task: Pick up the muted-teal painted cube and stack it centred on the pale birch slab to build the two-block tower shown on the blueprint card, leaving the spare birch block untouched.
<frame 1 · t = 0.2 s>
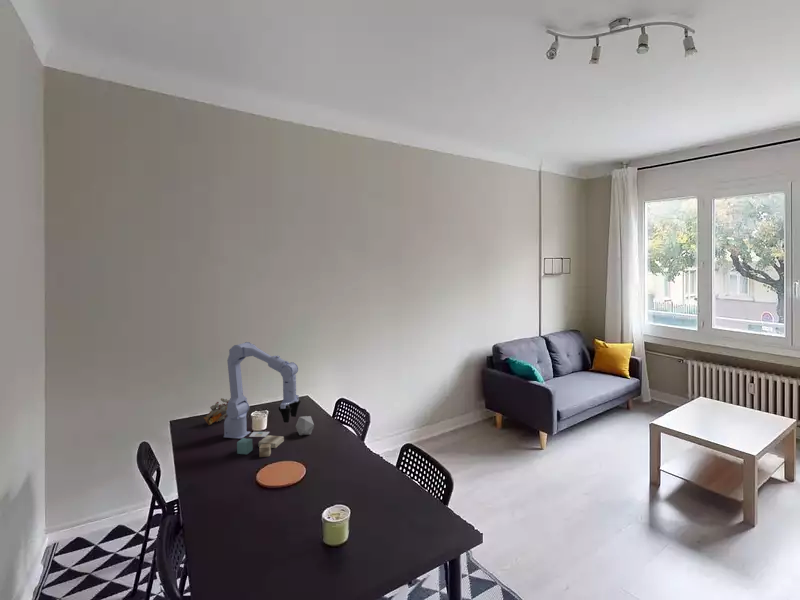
hand: (290, 419, 192), 10 cm above the table, fingers open, 7 cm apart
birch slab: (271, 444, 189), on the table
die: (305, 434, 201), on the table
blueprint card: (259, 434, 200), on the table
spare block: (265, 454, 178), on the table
teal cube: (245, 451, 181), on the table
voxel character: (222, 423, 215), on the table
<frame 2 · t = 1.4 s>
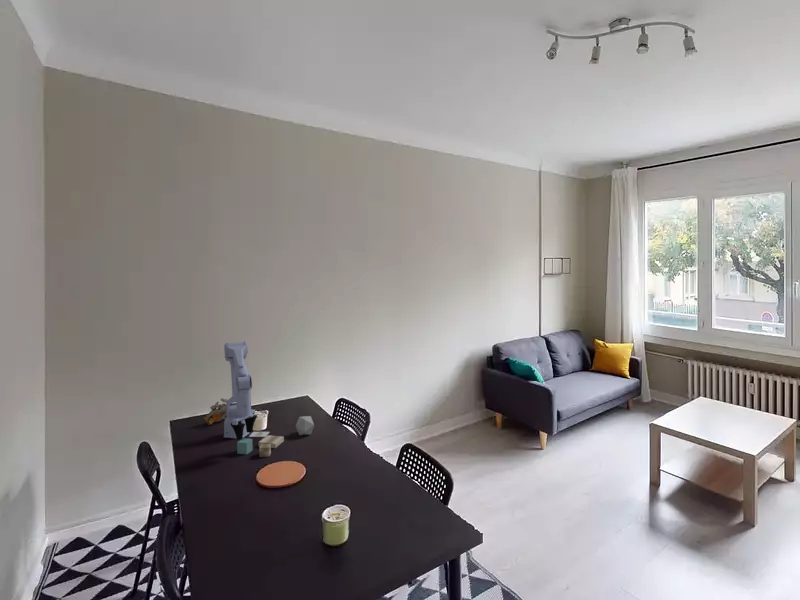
hand: (244, 435, 180), 7 cm above the table, fingers open, 7 cm apart
nothing on the table moved.
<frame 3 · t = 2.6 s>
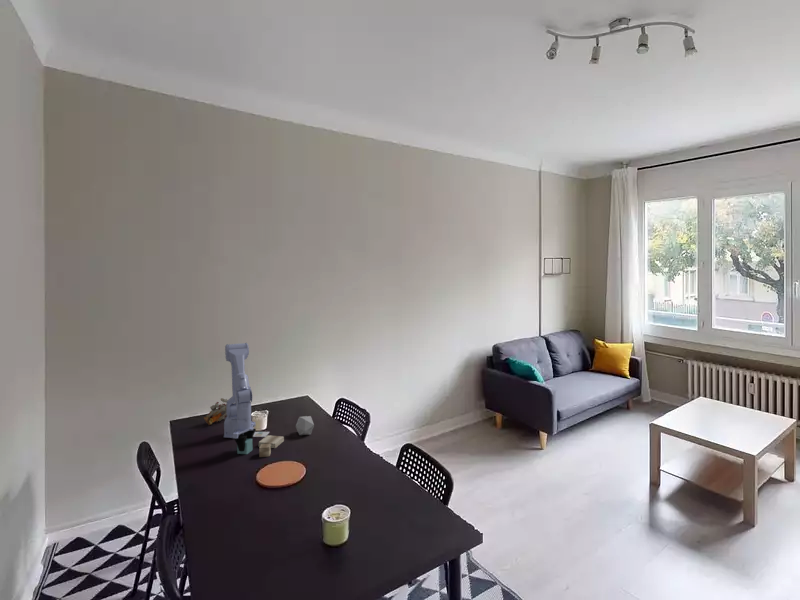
hand: (244, 448, 181), 1 cm above the table, fingers closed on teal cube, 4 cm apart
teal cube: (245, 451, 181), on the table, touching gripper
everything else where it was.
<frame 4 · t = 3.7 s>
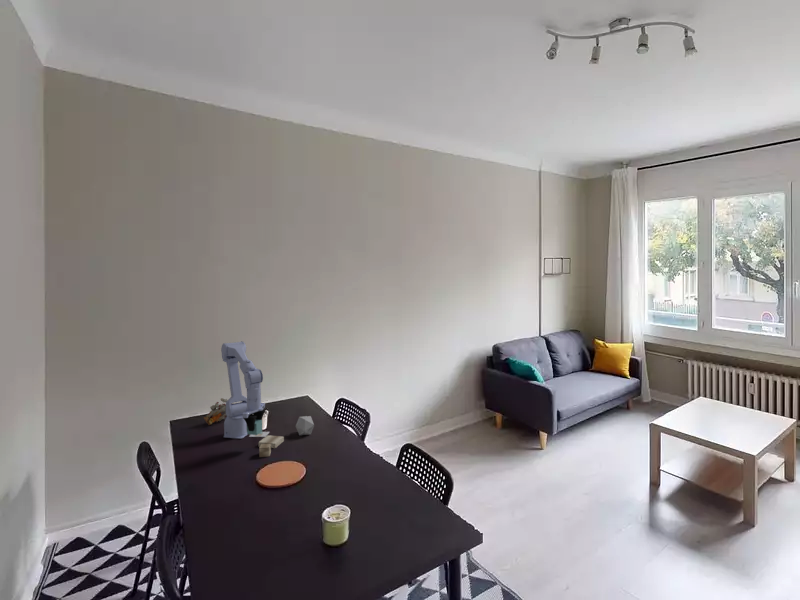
hand: (254, 428, 183), 9 cm above the table, fingers closed on teal cube, 4 cm apart
teal cube: (254, 432, 183), point 7 cm above the table, touching gripper
everything else where it was.
when the fingers open (5 cm above the table, at t = 5.2 s): teal cube drops 2 cm, resting on birch slab.
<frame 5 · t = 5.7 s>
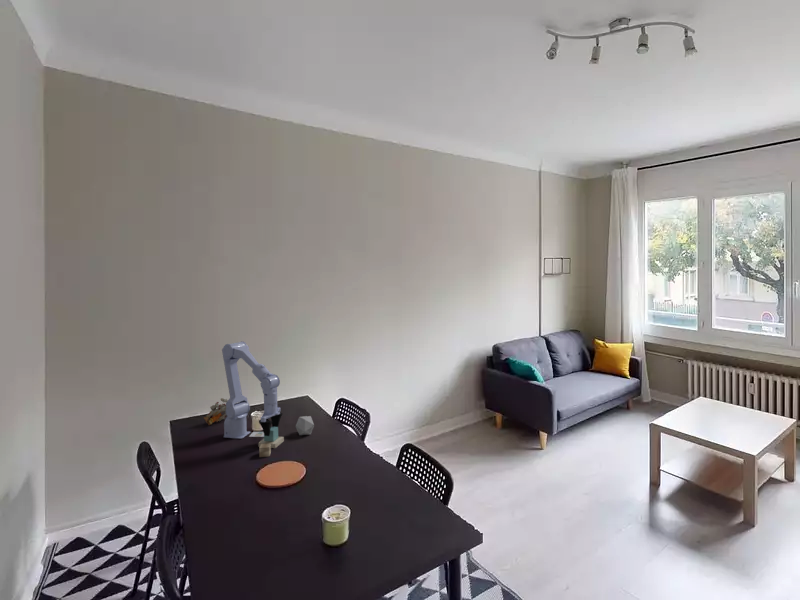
hand: (271, 432, 189), 5 cm above the table, fingers open, 7 cm apart
birch slab: (271, 445, 189), on the table, touching teal cube
teal cube: (271, 439, 189), point 2 cm above the table, touching birch slab
everything else where it was.
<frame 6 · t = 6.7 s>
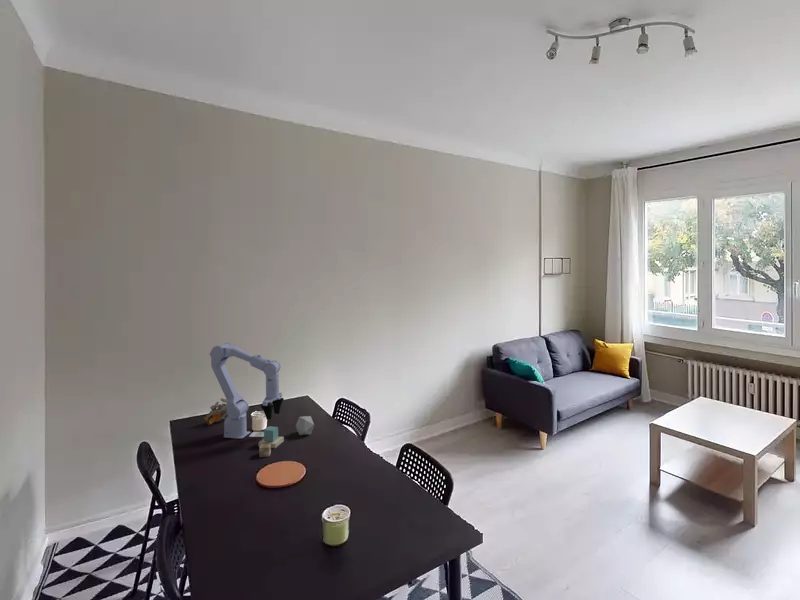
hand: (272, 416, 196), 10 cm above the table, fingers open, 7 cm apart
birch slab: (271, 444, 189), on the table
teal cube: (271, 439, 189), point 2 cm above the table
everything else where it was.
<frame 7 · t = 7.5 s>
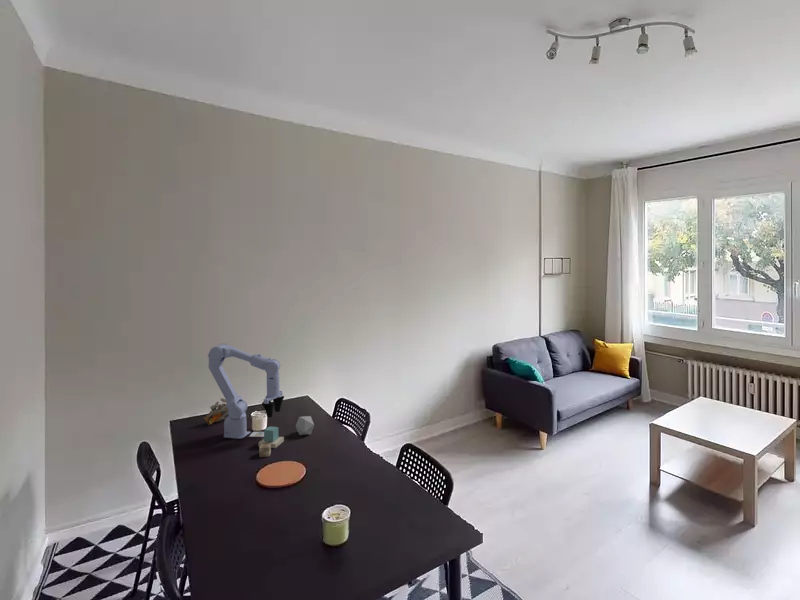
hand: (273, 414, 199), 10 cm above the table, fingers open, 7 cm apart
birch slab: (271, 445, 189), on the table, touching teal cube
teal cube: (271, 439, 189), point 2 cm above the table, touching birch slab
everything else where it was.
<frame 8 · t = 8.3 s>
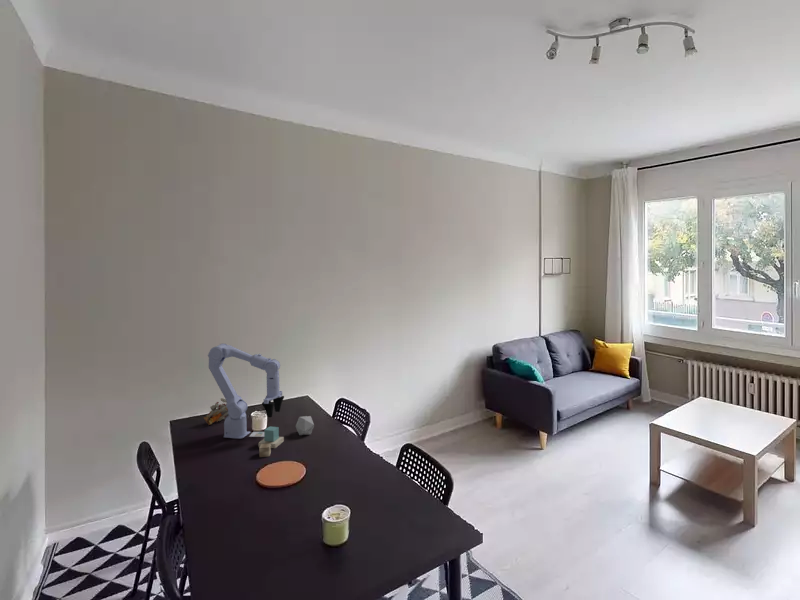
hand: (273, 414, 199), 10 cm above the table, fingers open, 7 cm apart
birch slab: (271, 445, 189), on the table
teal cube: (271, 439, 189), point 2 cm above the table
everything else where it was.
at the end: teal cube 0.2 cm off-centre on the birch slab, point 2.5 cm above the birch slab's base; teal cube tilted 0°; the gripper is holding nothing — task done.
